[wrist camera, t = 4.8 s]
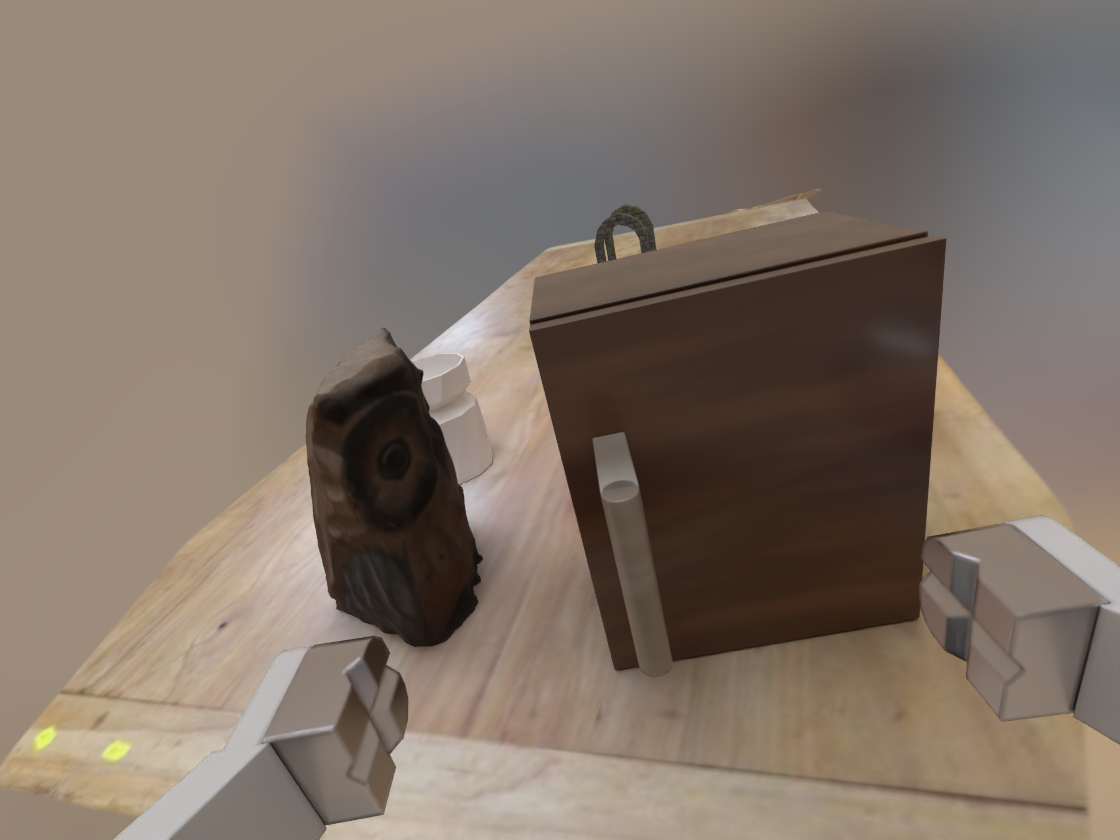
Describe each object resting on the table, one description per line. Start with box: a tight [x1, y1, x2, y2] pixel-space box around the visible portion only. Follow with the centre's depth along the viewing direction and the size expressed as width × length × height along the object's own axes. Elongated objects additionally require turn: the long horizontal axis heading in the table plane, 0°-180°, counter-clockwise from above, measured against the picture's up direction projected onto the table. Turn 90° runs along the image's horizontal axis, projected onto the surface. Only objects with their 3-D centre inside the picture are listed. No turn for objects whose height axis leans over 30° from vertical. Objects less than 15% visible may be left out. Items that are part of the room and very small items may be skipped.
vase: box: [411, 353, 493, 485], centre depth 60 cm, size 9×9×12 cm
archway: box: [595, 205, 656, 263], centre depth 98 cm, size 35×34×18 cm
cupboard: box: [530, 211, 928, 325], centre depth 34 cm, size 10×18×22 cm, turn 91°
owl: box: [306, 328, 483, 646], centre depth 40 cm, size 13×13×20 cm
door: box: [529, 236, 946, 677], centre depth 26 cm, size 7×18×22 cm, turn 91°
